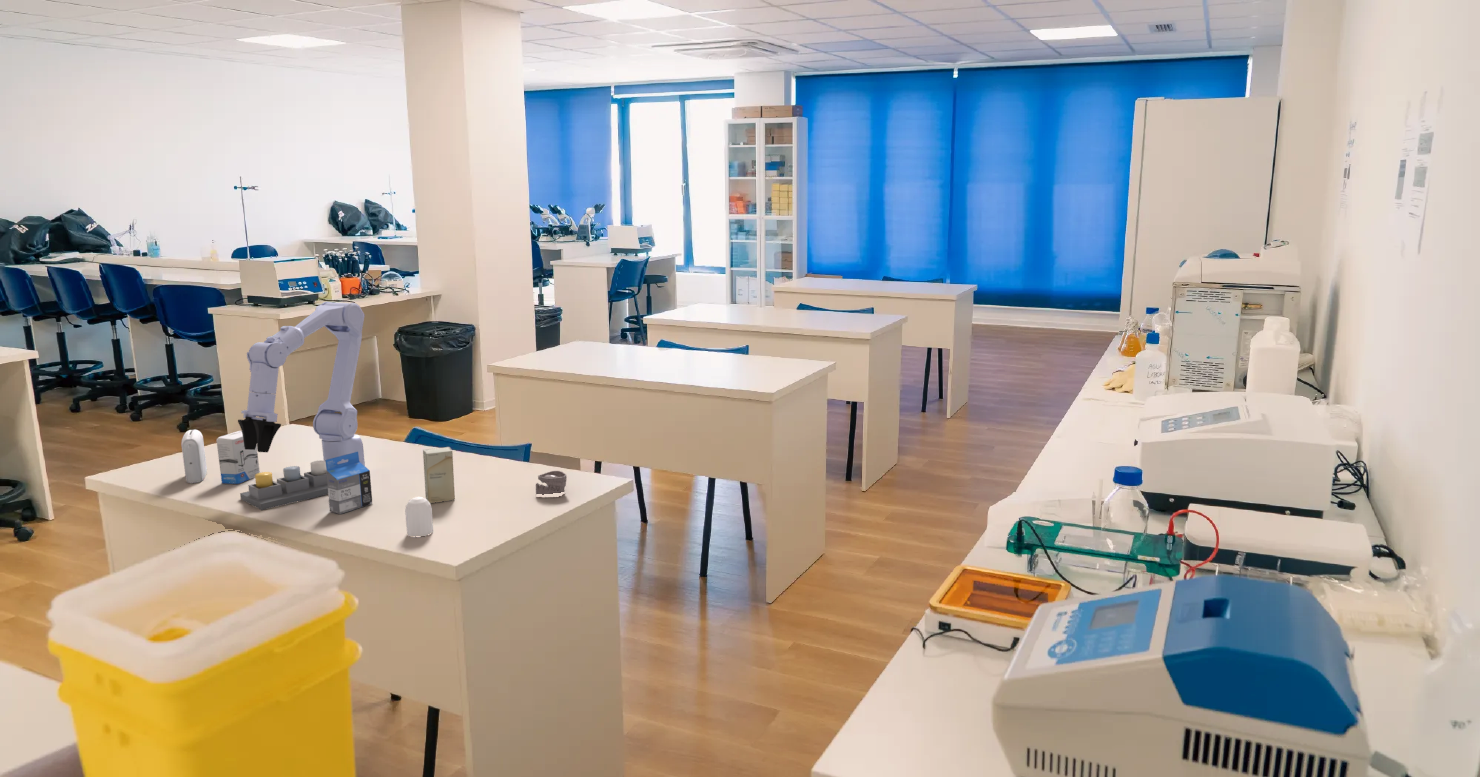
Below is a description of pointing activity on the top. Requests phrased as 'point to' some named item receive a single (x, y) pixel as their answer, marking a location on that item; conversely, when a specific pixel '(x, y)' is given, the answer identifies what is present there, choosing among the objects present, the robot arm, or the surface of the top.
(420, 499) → the white rounded cylinder
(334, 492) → the label tape cartridge
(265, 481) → the amber button
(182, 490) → the top surface
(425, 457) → the skincare box
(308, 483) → the panel
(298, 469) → the slate button
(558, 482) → the dental mold
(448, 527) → the top surface
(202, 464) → the photo printer
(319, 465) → the ivory button
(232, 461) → the ink box
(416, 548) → the top surface
